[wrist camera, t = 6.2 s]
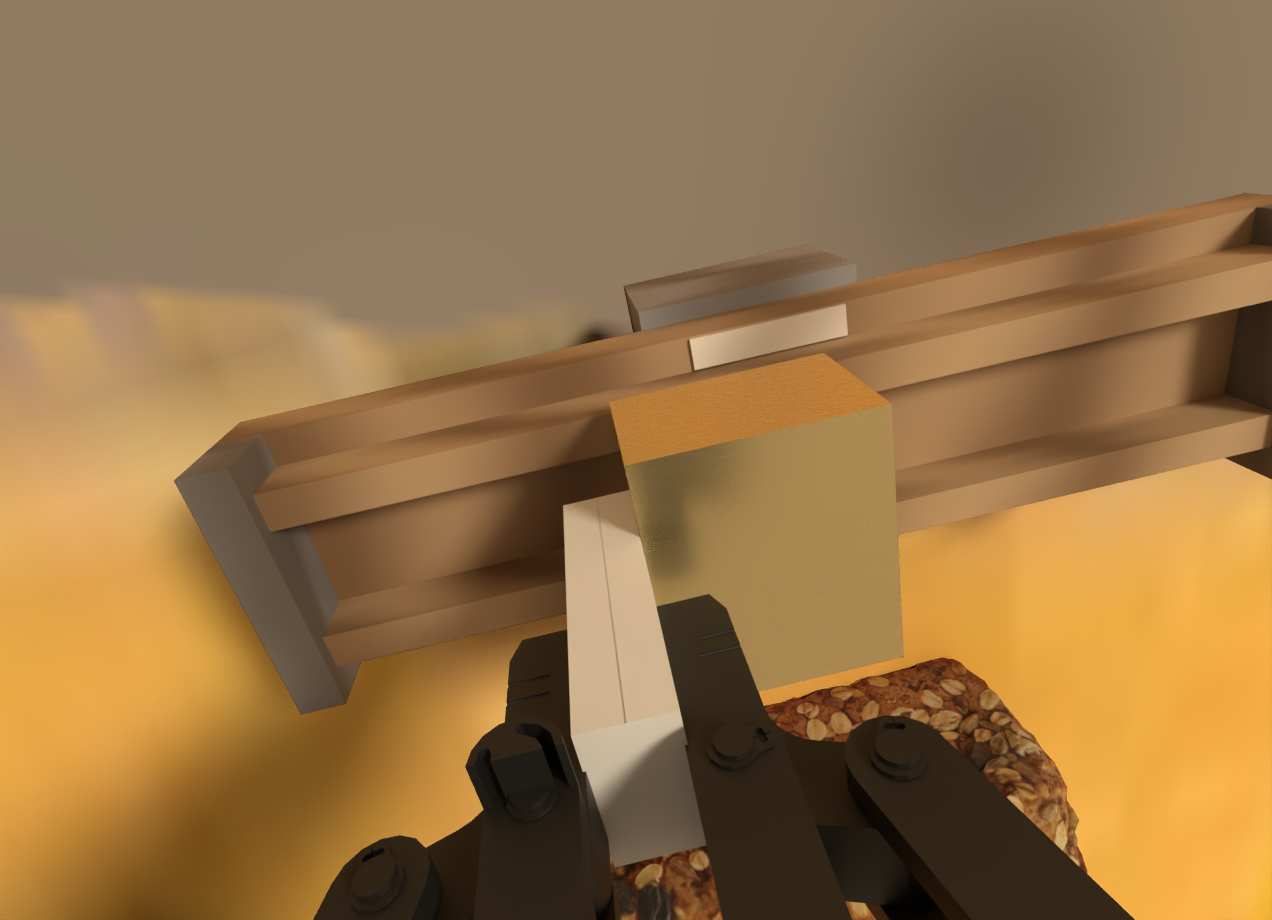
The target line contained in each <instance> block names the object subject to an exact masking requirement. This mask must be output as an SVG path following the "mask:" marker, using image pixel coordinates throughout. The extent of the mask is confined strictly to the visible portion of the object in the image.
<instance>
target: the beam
mask: <svg viewBox="0 0 1272 920" xmlns="http://www.w3.org/2000/svg"><path fill="white" fill-rule="evenodd" d="M856 275H857V274H856V263H854V262H851V261H849V260H846V259H843V258H840V257H838V256H835V255H832V254H830V253H827V252H824V251H822V250H819V249H816V248H813V247H811V246H808V245H803V246H798V247H794V248H789V249H785V250H780V251H776V252H771V253H767V254H763V255H758V256H755V257H750V258H745V259H741V260H736V261H732V262H727V263H723V264H719V265H714V266H710V267H706V268H701V269H696V270H692V271H688V272H683V273H679V274H674V275H670V276H665V277H662V278H657V279H652V280H648V281H644V282H639V283H635V284H630V285H626V286H624V290H625V295H626V300H627V304H628V309H629V314H630V319H631V324H632V329H633V333H630V334H626V335H621V336H617V337H612V338H608V339H604V340H599V341H595V342H590V343H586V344H582V345H577V346H573V347H569V348H564V349H560V350H555V351H551V352H547V353H542V354H538V355H533V356H529V357H525V358H520V359H516V360H512V361H507V362H503V363H498V364H494V365H490V366H485V367H481V368H476V369H472V370H468V371H463V372H459V373H455V374H450V375H446V376H441V377H437V378H433V379H428V380H424V381H419V382H415V383H411V384H406V385H402V386H398V387H393V388H389V389H384V390H380V391H376V392H371V393H367V394H362V395H358V396H354V397H349V398H345V399H340V400H336V401H332V402H327V403H323V404H319V405H314V406H310V407H305V408H301V409H297V410H292V411H288V412H283V413H279V414H275V415H270V416H266V417H262V418H257V419H253V420H248V421H244V422H240V423H239V424H238V425H236V426H235V427H234V428H233V429H232V430H231V431H230V432H228V433H227V434H226V435H225V436H224V437H223V438H222V439H221V440H219V441H218V442H217V443H216V444H215V445H214V446H213V447H212V448H210V449H209V450H208V451H207V452H206V453H205V454H204V455H202V456H201V457H200V458H199V459H198V460H197V461H196V462H195V463H193V464H192V465H191V466H190V467H189V468H188V469H187V470H186V471H184V472H183V473H182V474H181V475H180V476H179V477H178V478H176V479H175V480H174V482H175V484H176V486H177V488H178V489H179V491H180V493H181V495H182V497H183V499H184V500H185V502H186V504H187V506H188V508H189V510H190V511H191V513H192V515H193V517H194V519H195V521H196V522H197V524H198V526H199V528H200V530H201V532H202V534H203V535H204V537H205V539H206V541H207V543H208V545H209V546H210V548H211V550H212V552H213V554H214V556H215V557H216V559H217V561H218V563H219V565H220V567H221V568H222V570H223V572H224V574H225V576H226V578H227V579H228V581H229V583H230V585H231V587H232V589H233V591H234V592H235V594H236V596H237V598H238V600H239V602H240V603H241V605H242V607H243V609H244V611H245V613H246V614H247V616H248V618H249V620H250V622H251V624H252V625H253V627H254V629H255V631H256V633H257V635H258V637H259V638H260V640H261V642H262V644H263V646H264V648H265V649H266V651H267V653H268V655H269V657H270V659H271V660H272V662H273V664H274V666H275V668H276V670H277V671H278V673H279V675H280V677H281V679H282V681H283V682H284V684H285V686H286V688H287V690H288V692H289V694H290V695H291V697H292V699H293V701H294V703H295V705H296V706H297V708H298V710H299V712H300V714H305V713H309V712H313V711H317V710H321V709H326V708H330V707H334V706H338V705H343V704H346V702H347V699H348V697H349V694H350V691H351V688H352V686H353V683H354V680H355V677H356V675H357V672H358V669H359V667H360V664H361V662H362V661H366V660H370V659H374V658H379V657H383V656H387V655H391V654H396V653H400V652H404V651H408V650H412V649H417V648H421V647H425V646H429V645H434V644H438V643H442V642H446V641H451V640H455V639H459V638H463V637H468V636H472V635H476V634H480V633H485V632H489V631H493V630H497V629H501V628H506V627H510V626H514V625H518V624H523V623H527V622H531V621H535V620H540V619H544V618H548V617H552V616H557V615H561V614H565V613H567V604H566V574H565V545H564V515H563V505H568V504H572V503H576V502H580V501H585V500H589V499H593V498H597V497H602V496H606V495H610V494H614V493H619V492H623V491H627V490H629V486H628V481H627V477H626V473H625V468H624V464H623V460H622V455H621V451H620V447H619V442H618V438H617V434H616V429H615V425H614V421H613V416H612V412H611V408H610V404H609V402H611V401H616V400H620V399H624V398H629V397H633V396H637V395H642V394H646V393H650V392H655V391H659V390H664V389H668V388H672V387H677V386H681V385H685V384H690V383H694V382H698V381H703V380H707V379H711V378H716V377H720V376H724V375H729V374H733V373H737V372H742V371H746V370H750V369H755V368H759V367H764V366H768V365H772V364H777V363H781V362H785V361H790V360H794V359H798V358H803V357H807V356H811V355H816V354H820V353H824V354H826V355H827V356H828V357H830V358H831V359H832V360H834V361H835V362H836V363H838V364H839V365H840V366H842V367H843V368H844V369H846V370H847V371H848V372H850V373H851V374H852V375H854V376H855V377H857V378H858V379H859V380H861V381H862V382H863V383H865V384H866V385H867V386H869V387H870V388H871V389H873V390H874V391H875V392H877V393H878V394H879V395H881V396H882V397H883V398H885V399H886V400H887V401H889V402H890V403H891V404H892V418H893V440H894V461H895V483H896V504H897V526H898V535H900V534H904V533H908V532H912V531H917V530H921V529H925V528H929V527H934V526H938V525H942V524H946V523H950V522H955V521H959V520H963V519H967V518H972V517H976V516H980V515H984V514H989V513H993V512H997V511H1001V510H1006V509H1010V508H1014V507H1018V506H1022V505H1027V504H1031V503H1035V502H1039V501H1044V500H1048V499H1052V498H1056V497H1061V496H1065V495H1069V494H1073V493H1078V492H1082V491H1086V490H1090V489H1095V488H1099V487H1103V486H1107V485H1111V484H1116V483H1120V482H1124V481H1128V480H1133V479H1137V478H1141V477H1145V476H1150V475H1154V474H1158V473H1162V472H1167V471H1171V470H1175V469H1179V468H1183V467H1188V466H1192V465H1196V464H1200V463H1205V462H1209V461H1213V460H1217V459H1222V458H1226V459H1228V460H1230V461H1233V462H1235V463H1237V464H1239V465H1241V466H1244V467H1246V468H1248V469H1250V470H1252V471H1255V472H1257V473H1259V474H1261V475H1263V476H1265V477H1268V478H1270V479H1272V195H1261V194H1245V193H1244V194H1240V195H1235V196H1231V197H1226V198H1222V199H1218V200H1214V201H1209V202H1205V203H1200V204H1196V205H1191V206H1187V207H1182V208H1178V209H1174V210H1169V211H1165V212H1161V213H1156V214H1152V215H1147V216H1143V217H1139V218H1134V219H1130V220H1126V221H1121V222H1117V223H1112V224H1108V225H1104V226H1099V227H1095V228H1090V229H1086V230H1082V231H1077V232H1073V233H1069V234H1064V235H1060V236H1056V237H1051V238H1047V239H1042V240H1038V241H1033V242H1029V243H1025V244H1020V245H1016V246H1012V247H1007V248H1003V249H998V250H994V251H990V252H985V253H981V254H976V255H973V256H968V257H963V258H959V259H954V260H950V261H946V262H941V263H937V264H933V265H928V266H924V267H919V268H915V269H911V270H906V271H902V272H898V273H893V274H889V275H884V276H880V277H875V278H872V279H867V280H862V281H858V282H857V276H856Z"/></svg>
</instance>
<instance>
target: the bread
mask: <svg viewBox="0 0 1272 920" xmlns="http://www.w3.org/2000/svg"><path fill="white" fill-rule="evenodd" d="M765 710H766V712H767V713H768V715H769V717H770V718H771V719H772V720H773V721H774V722H775V723H776V724H777V725H778V726H779V727H780V728H782V729H784V730H785V731H787V732H789V733H790V734H793V735H796V736H799V737H801V738H804V739H811V740H818V741H839V742H846V741H847V739H848V737H849V735H850V733H851V732H852V730H853V729H855V728H856V727H857V726H859V725H860V724H861V723H863V722H864V721H865V720H869V719H872V718H876V717H880V716H883V715H887V716H905V717H908V718H911V719H914V720H918V721H921V722H924V723H925V724H927V725H928V726H930V727H931V728H932V729H934V730H935V731H937V732H938V733H940V734H941V735H942V736H943V737H944V738H945V739H946V740H947V741H948V742H949V743H950V744H951V745H952V746H954V747H955V748H956V749H957V750H958V751H959V752H960V753H961V754H962V755H963V756H964V757H965V758H966V759H967V760H968V761H969V762H970V763H971V764H972V765H973V766H974V767H976V768H977V769H978V770H979V771H980V772H981V773H982V774H983V775H984V776H985V777H986V778H987V779H988V780H989V781H990V782H991V783H992V784H993V785H994V786H995V787H996V788H998V789H999V790H1000V791H1001V792H1002V793H1003V794H1004V795H1005V796H1006V797H1007V798H1008V799H1009V800H1010V801H1011V802H1012V803H1013V804H1014V805H1015V806H1016V807H1017V808H1018V809H1019V810H1021V811H1022V812H1023V813H1024V814H1025V815H1026V816H1027V817H1028V818H1029V819H1030V820H1031V821H1032V822H1033V823H1034V824H1035V825H1036V826H1037V827H1038V828H1039V829H1040V830H1041V831H1043V832H1044V833H1045V834H1046V835H1047V836H1048V837H1049V838H1050V839H1051V840H1052V841H1053V842H1054V843H1055V844H1056V845H1057V846H1058V847H1059V848H1060V849H1061V850H1062V851H1063V852H1065V853H1066V854H1067V855H1068V856H1069V857H1070V858H1071V859H1072V860H1073V861H1074V862H1075V863H1076V864H1077V865H1078V866H1079V867H1080V868H1081V869H1082V870H1083V871H1084V872H1085V873H1086V874H1087V869H1086V866H1085V863H1084V860H1083V857H1082V854H1081V852H1080V850H1079V848H1078V846H1077V840H1078V839H1077V837H1076V835H1075V833H1074V832H1075V829H1076V827H1077V824H1078V822H1079V819H1078V817H1077V815H1076V814H1075V812H1074V810H1073V809H1072V807H1071V806H1070V805H1069V803H1068V802H1067V801H1066V799H1067V786H1066V785H1065V783H1064V781H1063V779H1062V777H1061V775H1060V773H1059V771H1058V769H1057V767H1056V765H1055V763H1054V762H1053V761H1052V759H1051V758H1050V757H1049V756H1048V755H1047V754H1046V753H1045V752H1044V750H1043V749H1042V748H1041V747H1040V745H1039V743H1038V742H1037V740H1036V739H1035V737H1034V735H1032V734H1031V733H1030V732H1028V731H1027V730H1026V729H1024V728H1023V727H1022V726H1021V724H1020V723H1019V722H1018V720H1017V719H1016V718H1015V716H1014V715H1013V714H1012V713H1011V712H1010V711H1009V709H1008V708H1007V707H1006V706H1005V705H1004V704H1003V702H1002V701H1001V699H1000V698H999V696H998V695H997V693H995V692H994V691H992V690H991V689H990V688H989V687H988V685H987V684H986V682H985V681H984V680H982V679H981V678H979V677H978V676H976V675H975V674H973V673H972V672H970V671H969V670H968V669H967V668H966V667H965V666H963V665H962V664H961V663H960V662H958V661H956V660H954V659H950V660H949V659H946V658H939V659H934V660H930V661H926V662H922V663H919V664H917V665H916V667H915V668H912V669H906V670H901V671H897V672H893V673H889V674H885V675H881V676H873V677H867V678H864V679H861V680H858V681H856V682H855V683H853V684H852V685H850V686H838V687H831V688H827V689H821V690H817V691H815V692H814V693H812V694H811V695H809V696H808V697H806V698H805V699H804V698H794V699H792V700H790V701H788V702H784V703H776V704H773V705H769V706H767V707H765ZM609 853H610V852H609ZM610 865H611V877H612V883H613V886H614V889H615V892H616V896H617V899H618V902H619V905H620V915H621V920H723V918H722V914H721V909H720V904H719V900H718V895H717V891H716V886H715V882H714V877H713V873H712V868H711V864H710V859H709V854H708V850H707V845H705V846H701V847H697V848H693V849H689V850H685V851H681V852H676V853H672V854H668V855H664V856H660V857H656V858H652V859H648V860H643V861H639V862H635V863H631V864H627V865H623V866H619V867H614V864H613V861H612V858H611V855H610ZM845 902H846V904H847V907H848V909H849V912H850V915H851V917H852V920H876V919H875V917H874V916H873V915H872V913H871V912H870V910H869V909H868V907H867V906H866V904H865V903H857V902H848V901H845Z"/></svg>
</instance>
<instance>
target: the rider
mask: <svg viewBox="0 0 1272 920" xmlns="http://www.w3.org/2000/svg"><path fill="white" fill-rule="evenodd" d="M609 404H610V408H611V412H612V416H613V421H614V425H615V429H616V434H617V438H618V442H619V447H620V451H621V455H622V460H623V464H624V468H625V473H626V477H627V481H628V486H629V490H630V494H631V499H632V503H633V507H634V511H635V516H636V520H637V524H638V528H639V533H640V537H641V541H642V546H643V550H644V554H645V558H646V563H647V567H648V571H649V576H650V580H651V584H652V589H653V593H654V597H655V601H656V606H660V605H665V604H669V603H673V602H677V601H681V600H686V599H690V598H694V597H698V596H702V595H707V594H710V595H711V596H712V597H713V598H715V599H716V600H717V601H718V602H720V603H721V604H722V605H723V606H724V607H726V608H727V611H728V613H729V616H730V619H731V621H732V624H733V627H734V630H735V632H736V634H737V637H738V640H739V642H740V646H741V648H742V650H743V653H744V656H745V658H746V661H747V663H748V666H749V669H750V671H751V674H752V677H753V679H754V682H755V684H756V687H757V690H758V691H763V690H767V689H771V688H775V687H779V686H783V685H788V684H792V683H796V682H800V681H804V680H808V679H813V678H817V677H821V676H825V675H829V674H834V673H838V672H842V671H846V670H850V669H854V668H859V667H863V666H867V665H871V664H875V663H879V662H884V661H888V660H892V659H896V658H900V657H904V656H903V634H902V613H901V591H900V569H899V548H898V526H897V504H896V483H895V461H894V440H893V418H892V404H891V403H890V402H889V401H887V400H886V399H885V398H883V397H882V396H881V395H879V394H878V393H877V392H875V391H874V390H873V389H871V388H870V387H869V386H867V385H866V384H865V383H863V382H862V381H861V380H859V379H858V378H857V377H855V376H854V375H852V374H851V373H850V372H848V371H847V370H846V369H844V368H843V367H842V366H840V365H839V364H838V363H836V362H835V361H834V360H832V359H831V358H830V357H828V356H827V355H826V354H824V353H820V354H816V355H811V356H807V357H803V358H798V359H794V360H790V361H785V362H781V363H777V364H772V365H768V366H764V367H759V368H755V369H750V370H746V371H742V372H737V373H733V374H729V375H724V376H720V377H716V378H711V379H707V380H703V381H698V382H694V383H690V384H685V385H681V386H677V387H672V388H668V389H664V390H659V391H655V392H650V393H646V394H642V395H637V396H633V397H629V398H624V399H620V400H616V401H611V402H609Z"/></svg>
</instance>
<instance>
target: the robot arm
mask: <svg viewBox="0 0 1272 920" xmlns="http://www.w3.org/2000/svg"><path fill="white" fill-rule="evenodd" d="M563 515H564V545H565V574H566V604H567V630H563V631H559V632H555V633H551V634H546V635H542V636H538V637H534V638H530V639H525V640H522V642H521V644H520V645H519V647H518V649H517V650H516V652H515V654H514V656H513V657H512V659H511V661H510V666H509V679H508V685H509V688H508V691H507V707H506V716H505V723H502V724H499V725H498V726H496V727H495V728H494V729H492V730H491V731H490V732H488V733H487V734H485V735H484V736H483V737H482V738H481V739H480V741H479V742H478V743H477V744H476V746H475V747H474V748H473V749H472V751H471V753H470V756H469V759H468V761H467V764H466V770H467V772H468V774H469V776H470V779H471V781H472V783H473V786H474V788H475V790H476V793H477V795H478V797H479V799H480V802H481V804H482V806H483V809H484V810H483V811H482V812H481V813H480V814H479V815H478V816H476V817H475V818H474V819H473V820H472V821H471V822H470V823H468V824H467V825H465V826H464V827H462V828H461V829H459V830H458V831H456V832H454V833H452V834H450V835H449V836H447V837H445V838H443V839H441V840H439V841H438V842H436V843H434V844H432V845H430V846H428V847H427V848H425V847H424V846H423V845H422V844H421V843H420V842H419V841H418V840H417V839H415V838H410V837H405V836H395V837H390V838H385V839H381V840H379V841H377V842H375V843H373V844H372V845H370V846H368V847H366V848H364V849H362V850H361V851H360V852H359V853H358V854H357V855H356V856H354V857H353V858H352V859H351V860H350V861H349V862H348V863H347V864H345V866H344V867H343V868H342V870H341V871H340V873H339V874H338V876H337V877H336V879H335V880H334V881H333V883H332V884H331V886H330V888H329V890H328V892H327V894H326V896H325V898H324V900H323V902H322V904H321V906H320V908H319V910H318V912H317V914H316V915H315V917H314V919H313V920H621V915H620V905H619V902H618V899H617V896H616V892H615V889H614V886H613V883H612V877H611V865H610V855H611V858H612V861H613V864H614V867H619V866H623V865H627V864H631V863H635V862H639V861H643V860H648V859H652V858H656V857H660V856H664V855H668V854H672V853H676V852H681V851H685V850H689V849H693V848H697V847H701V846H705V845H707V850H708V854H709V859H710V864H711V868H712V873H713V877H714V882H715V886H716V891H717V895H718V900H719V904H720V909H721V914H722V918H723V920H852V917H851V915H850V912H849V909H848V907H847V904H846V902H845V901H848V902H857V903H865V904H866V906H867V907H868V909H869V910H870V912H871V913H872V915H873V916H874V917H875V919H876V920H1135V919H1134V918H1133V917H1132V916H1130V915H1129V914H1128V913H1127V912H1126V911H1125V910H1124V909H1123V908H1122V907H1121V906H1120V905H1119V904H1118V903H1117V902H1116V901H1115V900H1114V899H1113V898H1112V897H1111V896H1110V895H1108V894H1107V893H1106V892H1105V891H1104V890H1103V889H1102V888H1101V887H1100V886H1099V885H1098V884H1097V883H1096V882H1095V881H1094V880H1093V879H1092V878H1091V877H1090V876H1089V875H1088V874H1086V873H1085V872H1084V871H1083V870H1082V869H1081V868H1080V867H1079V866H1078V865H1077V864H1076V863H1075V862H1074V861H1073V860H1072V859H1071V858H1070V857H1069V856H1068V855H1067V854H1066V853H1065V852H1063V851H1062V850H1061V849H1060V848H1059V847H1058V846H1057V845H1056V844H1055V843H1054V842H1053V841H1052V840H1051V839H1050V838H1049V837H1048V836H1047V835H1046V834H1045V833H1044V832H1043V831H1041V830H1040V829H1039V828H1038V827H1037V826H1036V825H1035V824H1034V823H1033V822H1032V821H1031V820H1030V819H1029V818H1028V817H1027V816H1026V815H1025V814H1024V813H1023V812H1022V811H1021V810H1019V809H1018V808H1017V807H1016V806H1015V805H1014V804H1013V803H1012V802H1011V801H1010V800H1009V799H1008V798H1007V797H1006V796H1005V795H1004V794H1003V793H1002V792H1001V791H1000V790H999V789H998V788H996V787H995V786H994V785H993V784H992V783H991V782H990V781H989V780H988V779H987V778H986V777H985V776H984V775H983V774H982V773H981V772H980V771H979V770H978V769H977V768H976V767H974V766H973V765H972V764H971V763H970V762H969V761H968V760H967V759H966V758H965V757H964V756H963V755H962V754H961V753H960V752H959V751H958V750H957V749H956V748H955V747H954V746H952V745H951V744H950V743H949V742H948V741H947V740H946V739H945V738H944V737H943V736H942V735H941V734H940V733H938V732H937V731H935V730H934V729H932V728H931V727H930V726H928V725H927V724H925V723H924V722H921V721H918V720H914V719H911V718H908V717H905V716H887V715H883V716H880V717H876V718H872V719H869V720H865V721H864V722H863V723H861V724H860V725H859V726H857V727H856V728H855V729H853V730H852V732H851V733H850V735H849V737H848V739H847V741H846V742H839V741H818V740H811V739H804V738H801V737H799V736H796V735H793V734H790V733H789V732H787V731H785V730H784V729H782V728H780V727H779V726H778V725H777V724H776V723H775V722H774V721H773V720H772V719H771V718H770V717H769V715H768V713H767V712H766V710H765V708H764V706H763V703H762V700H761V698H760V695H759V692H758V690H757V687H756V684H755V682H754V679H753V677H752V674H751V671H750V669H749V666H748V663H747V661H746V658H745V656H744V653H743V650H742V648H741V646H740V642H739V640H738V637H737V634H736V632H735V630H734V627H733V624H732V621H731V619H730V616H729V613H728V611H727V608H726V607H724V606H723V605H722V604H721V603H720V602H718V601H717V600H716V599H715V598H713V597H712V596H711V595H710V594H707V595H702V596H698V597H694V598H690V599H686V600H681V601H677V602H673V603H669V604H665V605H660V606H656V601H655V597H654V593H653V589H652V584H651V580H650V576H649V571H648V567H647V563H646V558H645V554H644V550H643V546H642V541H641V537H640V533H639V528H638V524H637V520H636V516H635V511H634V507H633V503H632V499H631V494H630V490H627V491H623V492H619V493H614V494H610V495H606V496H602V497H597V498H593V499H589V500H585V501H580V502H576V503H572V504H568V505H563ZM609 852H610V853H609Z"/></svg>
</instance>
